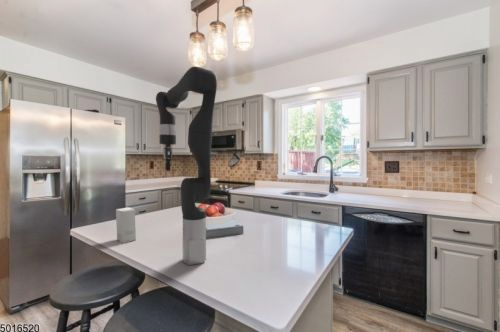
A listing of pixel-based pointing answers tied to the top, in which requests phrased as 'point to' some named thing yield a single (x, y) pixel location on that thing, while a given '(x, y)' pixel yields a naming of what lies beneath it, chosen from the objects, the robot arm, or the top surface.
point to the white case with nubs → (224, 232)
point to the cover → (224, 225)
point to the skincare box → (125, 224)
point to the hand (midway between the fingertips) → (167, 170)
